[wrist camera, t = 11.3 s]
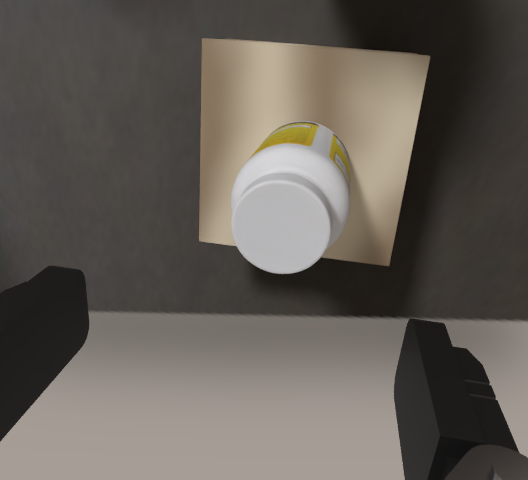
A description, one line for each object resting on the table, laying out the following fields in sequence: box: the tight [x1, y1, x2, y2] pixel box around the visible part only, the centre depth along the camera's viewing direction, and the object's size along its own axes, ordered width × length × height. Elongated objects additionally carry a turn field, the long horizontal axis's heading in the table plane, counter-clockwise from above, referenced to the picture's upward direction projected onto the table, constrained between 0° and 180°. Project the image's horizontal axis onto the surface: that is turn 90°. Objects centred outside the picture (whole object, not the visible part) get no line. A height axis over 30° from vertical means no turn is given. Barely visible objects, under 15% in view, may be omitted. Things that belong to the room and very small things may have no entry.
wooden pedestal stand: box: [199, 38, 430, 266], centre depth 30 cm, size 12×12×6 cm
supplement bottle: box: [231, 121, 350, 274], centre depth 23 cm, size 5×5×10 cm
